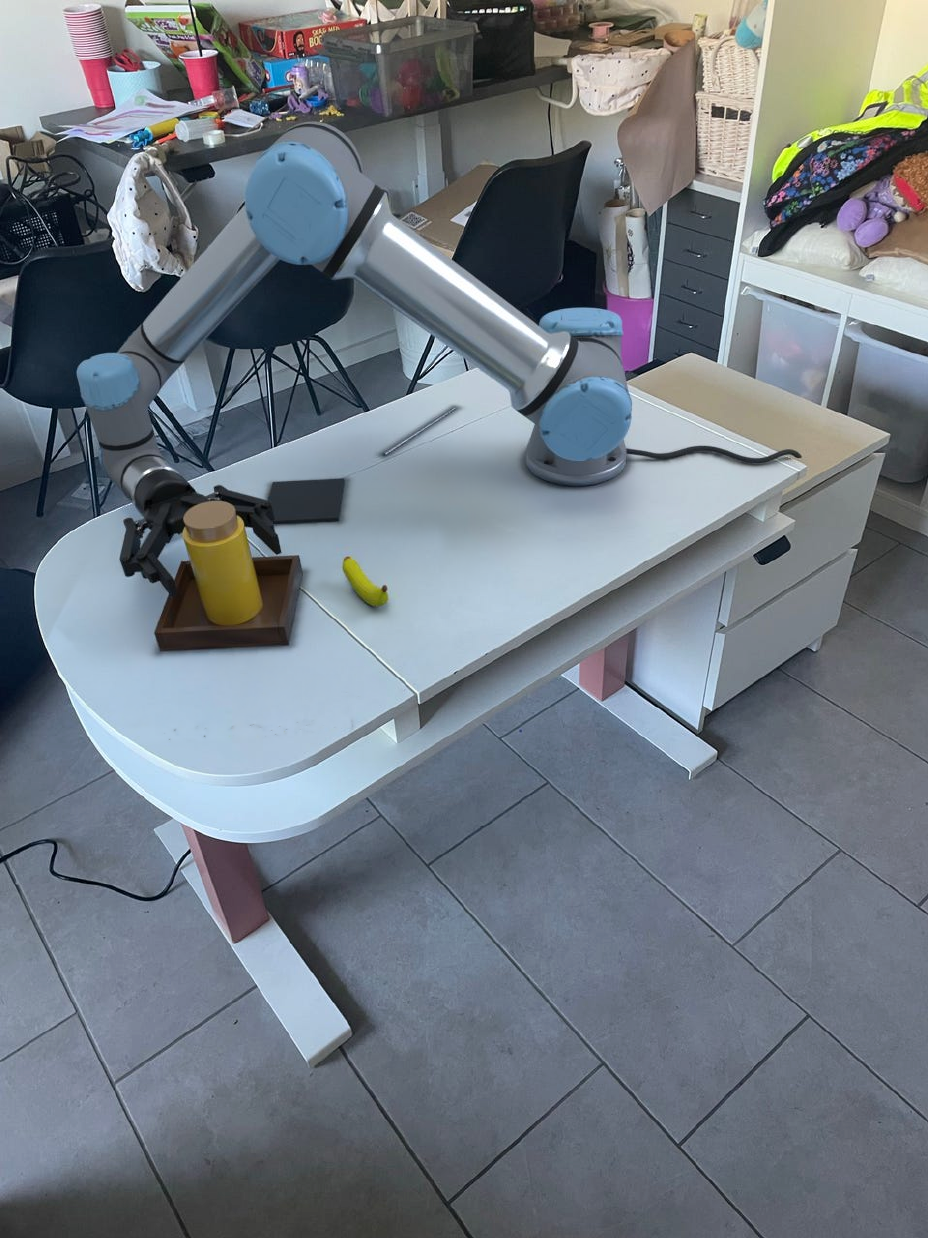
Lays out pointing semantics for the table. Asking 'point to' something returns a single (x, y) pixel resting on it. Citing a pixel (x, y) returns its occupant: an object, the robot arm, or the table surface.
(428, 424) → the rod
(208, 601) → the jar
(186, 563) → the box
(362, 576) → the fruit
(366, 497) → the table surface
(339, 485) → the mat
